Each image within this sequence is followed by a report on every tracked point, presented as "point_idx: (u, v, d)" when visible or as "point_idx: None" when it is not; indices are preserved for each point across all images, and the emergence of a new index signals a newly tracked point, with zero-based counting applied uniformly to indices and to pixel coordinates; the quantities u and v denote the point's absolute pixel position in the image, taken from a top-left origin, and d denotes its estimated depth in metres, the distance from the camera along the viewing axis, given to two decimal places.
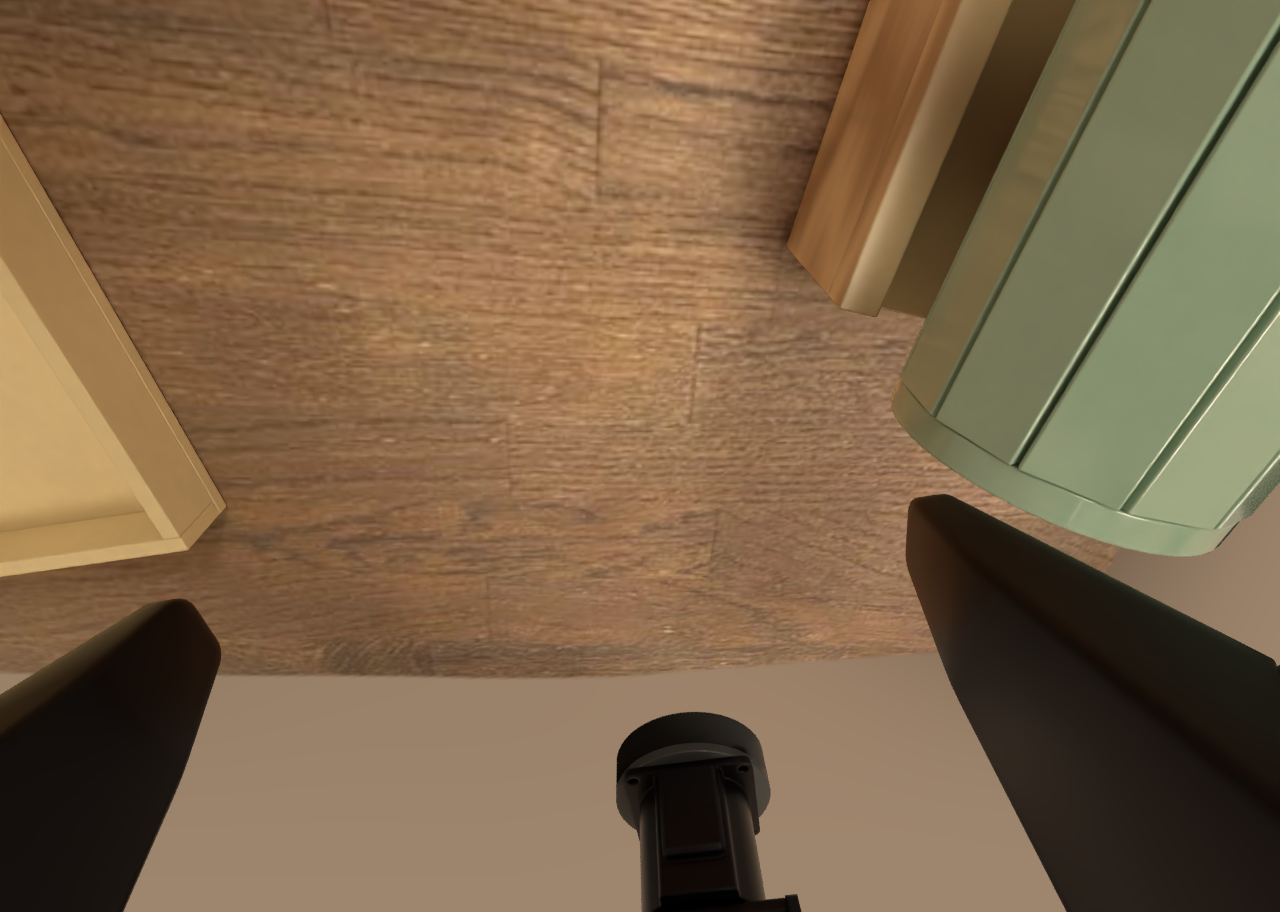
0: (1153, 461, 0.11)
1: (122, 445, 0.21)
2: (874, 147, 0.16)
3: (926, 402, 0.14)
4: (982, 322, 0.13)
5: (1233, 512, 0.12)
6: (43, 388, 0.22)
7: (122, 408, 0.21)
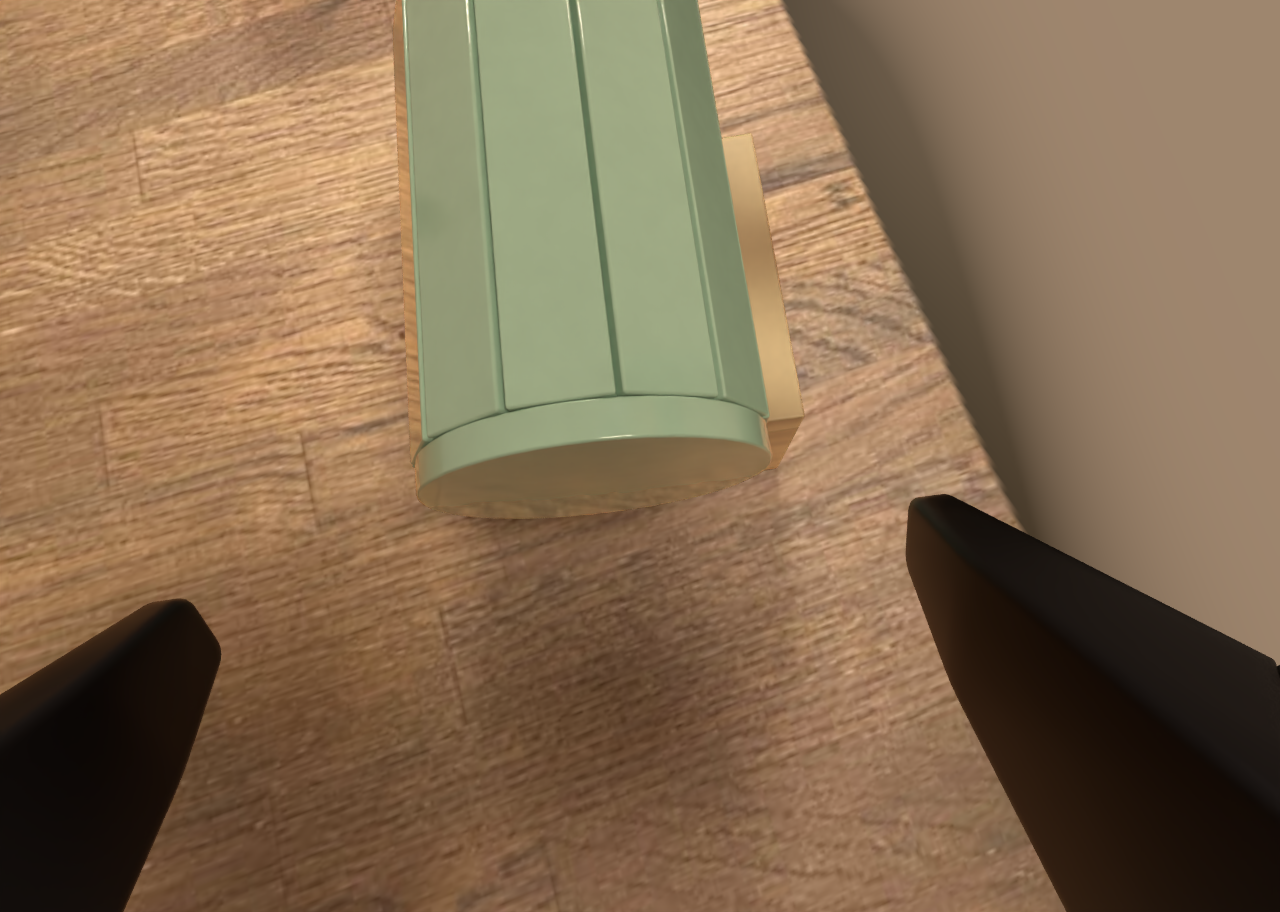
0: (493, 350, 0.11)
1: None
2: None
3: None
4: (412, 369, 0.14)
5: (624, 367, 0.10)
6: None
7: None
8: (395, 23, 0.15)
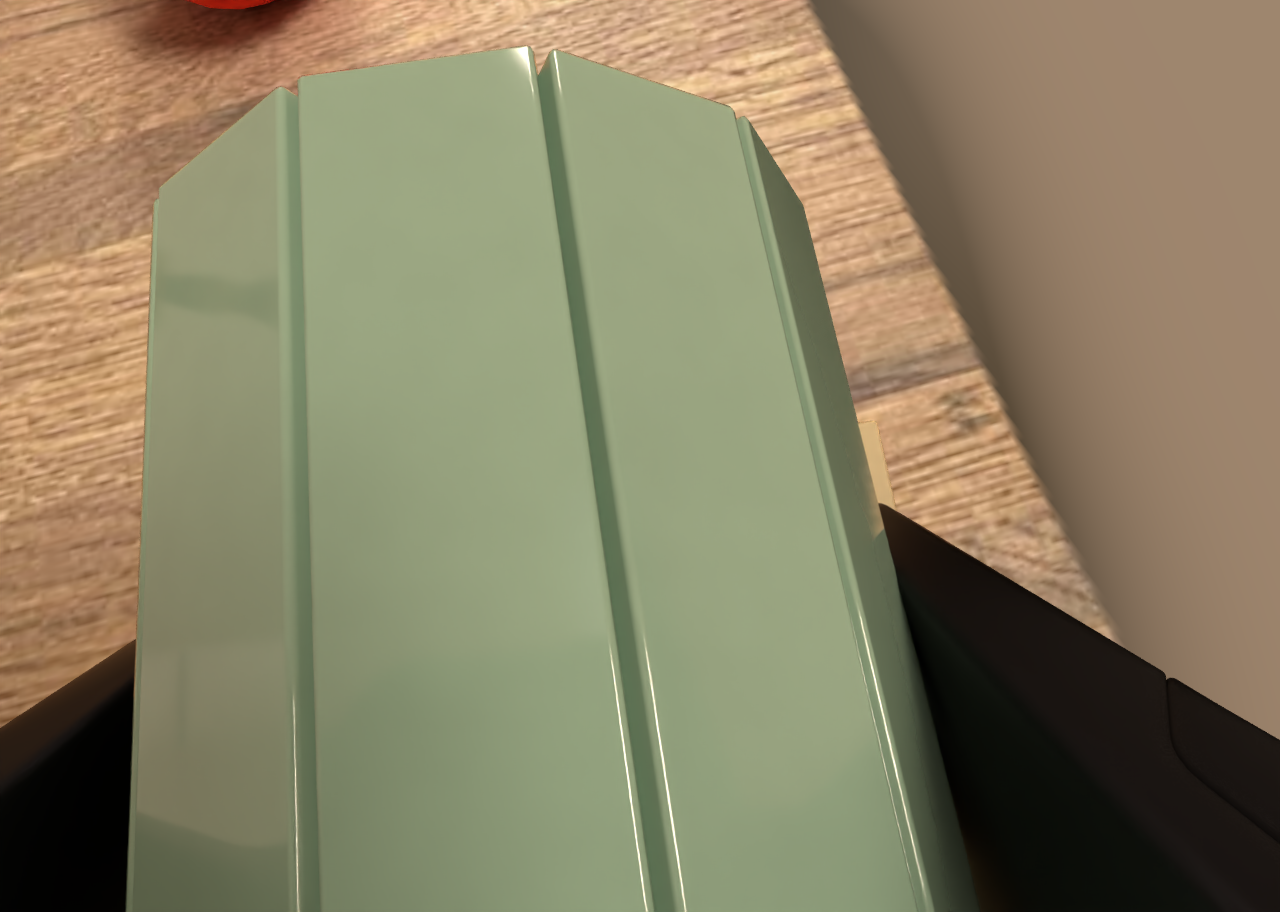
0: None
1: None
2: None
3: None
4: None
5: None
6: None
7: None
8: None
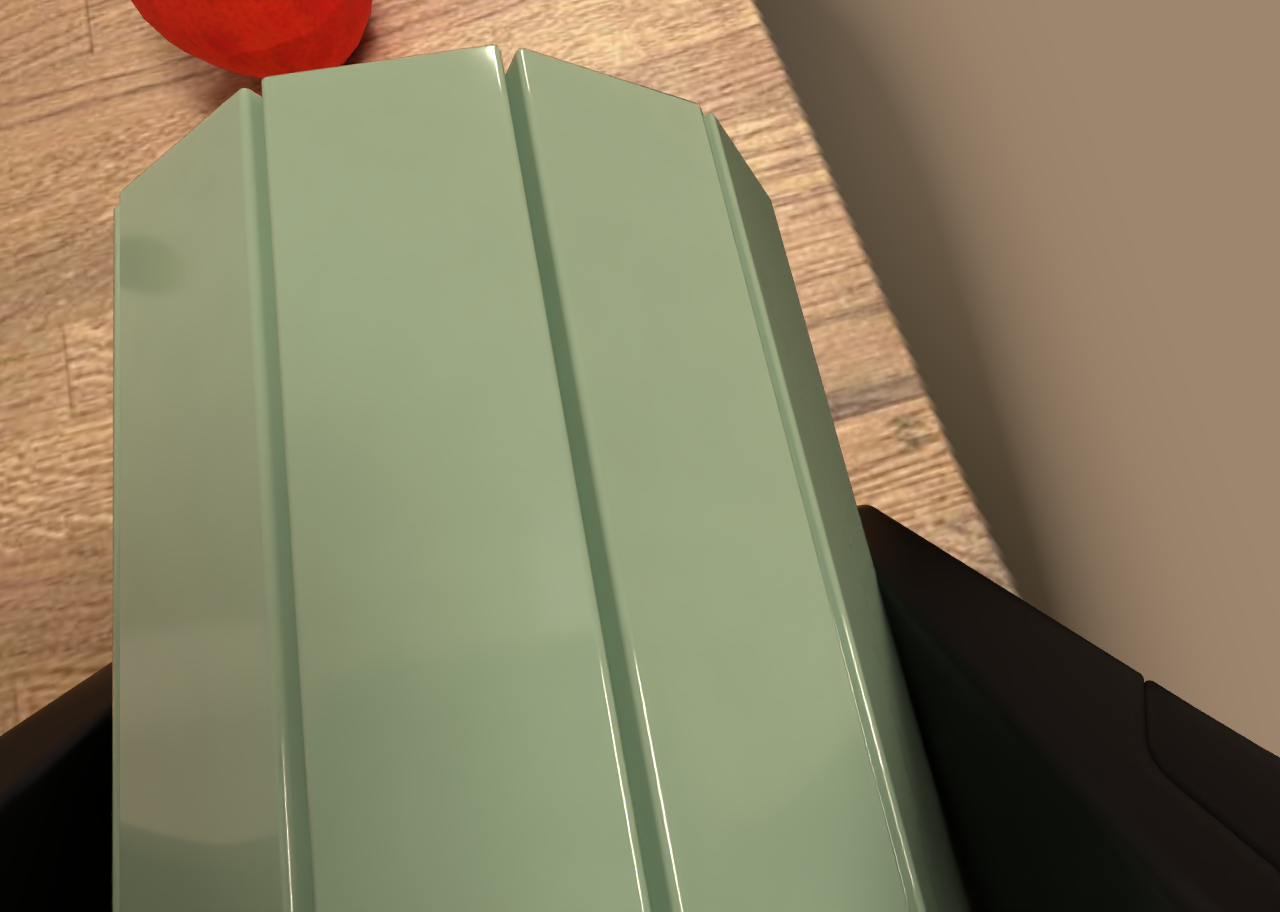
0: None
1: None
2: None
3: None
4: None
5: None
6: None
7: None
8: None
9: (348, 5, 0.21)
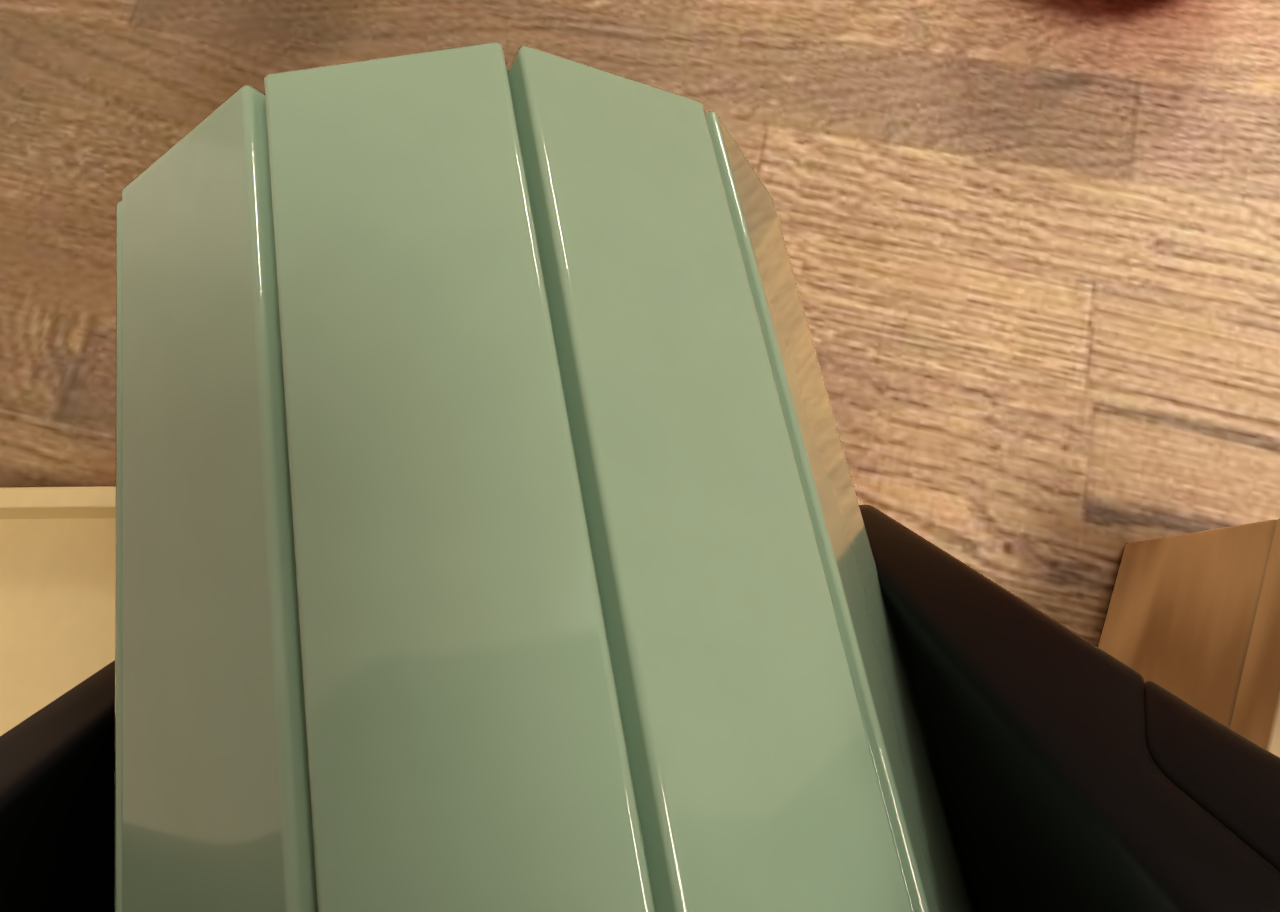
0: None
1: None
2: None
3: None
4: None
5: None
6: None
7: None
8: None
9: None
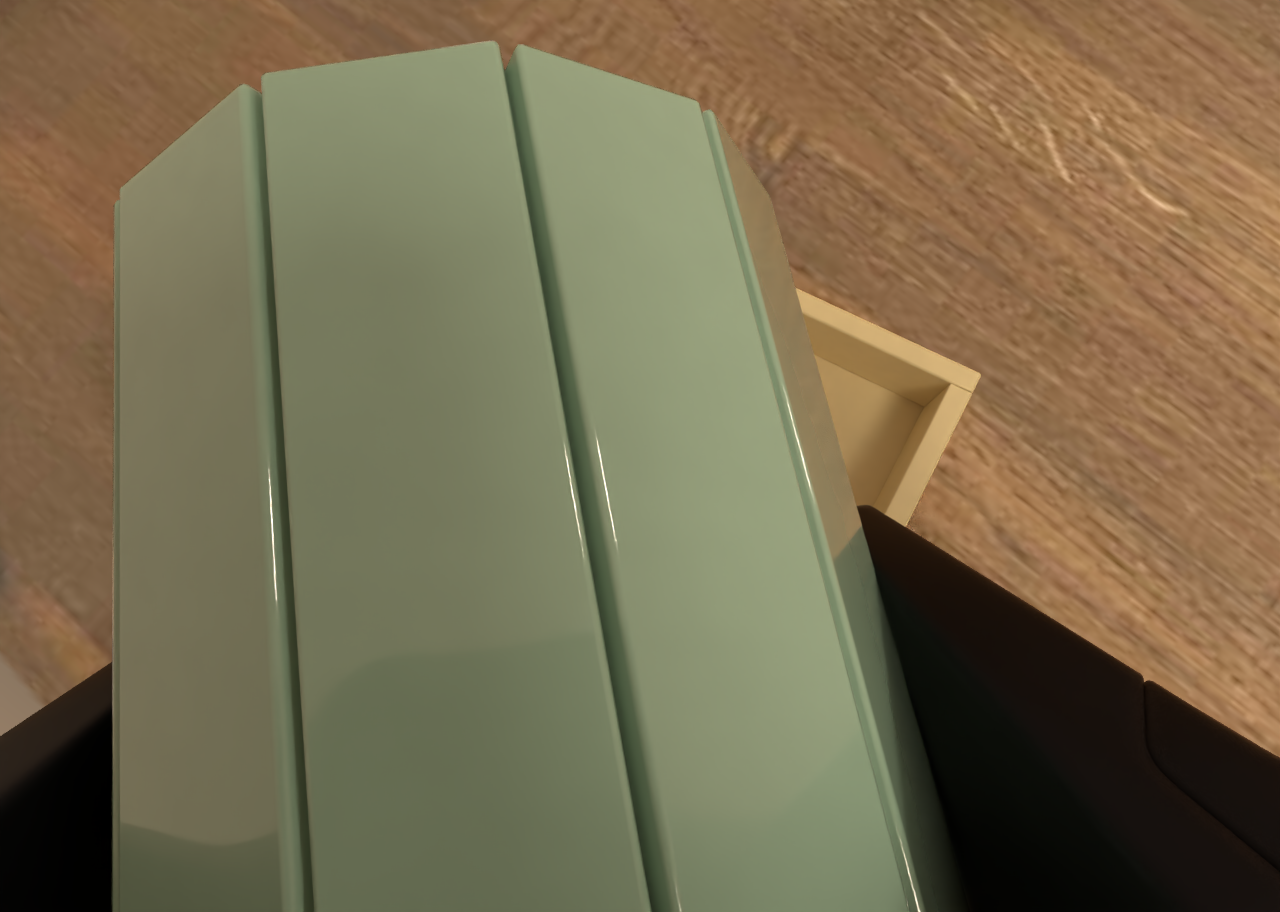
0: None
1: None
2: None
3: None
4: None
5: None
6: None
7: None
8: None
9: None
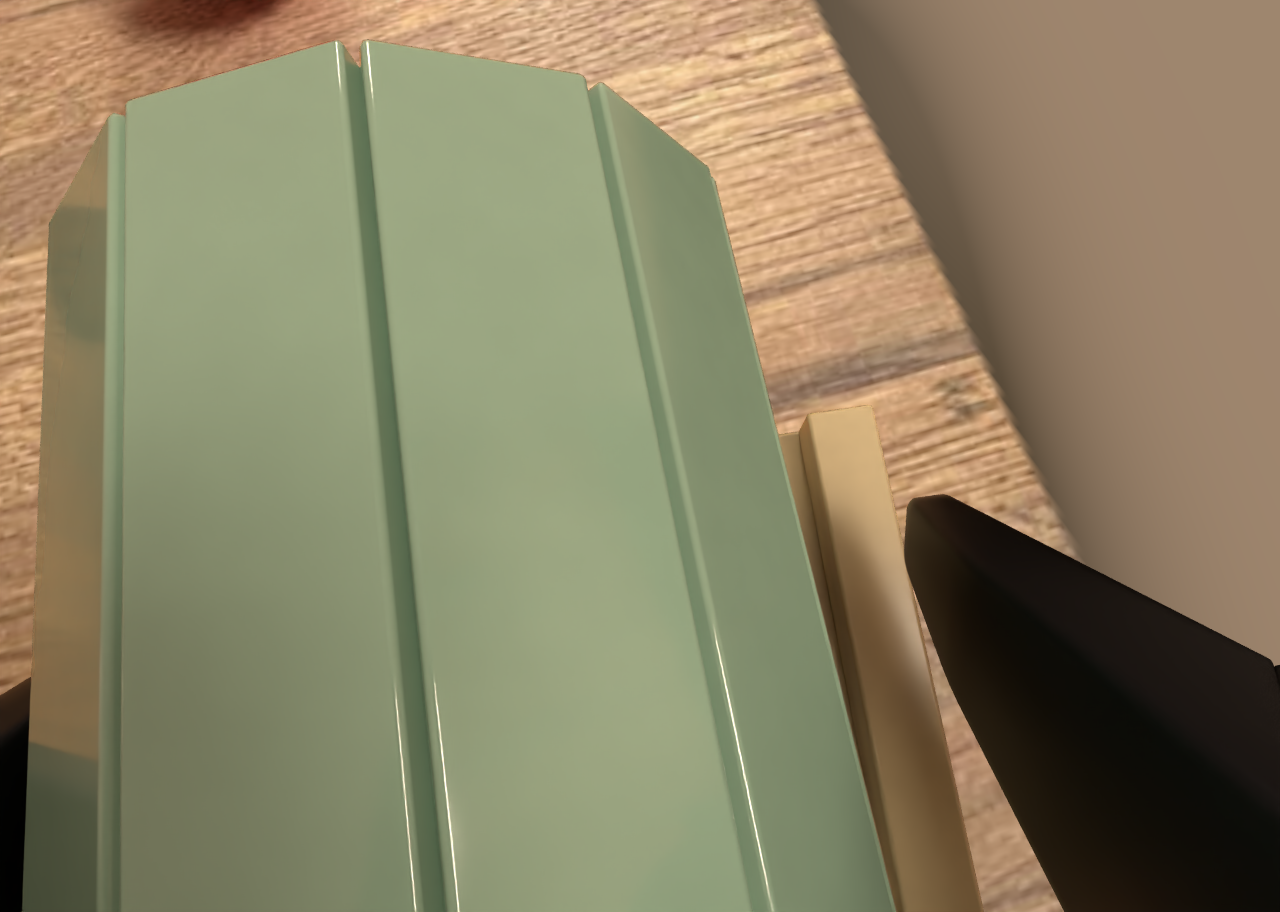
0: None
1: None
2: None
3: None
4: None
5: None
6: None
7: None
8: None
9: None
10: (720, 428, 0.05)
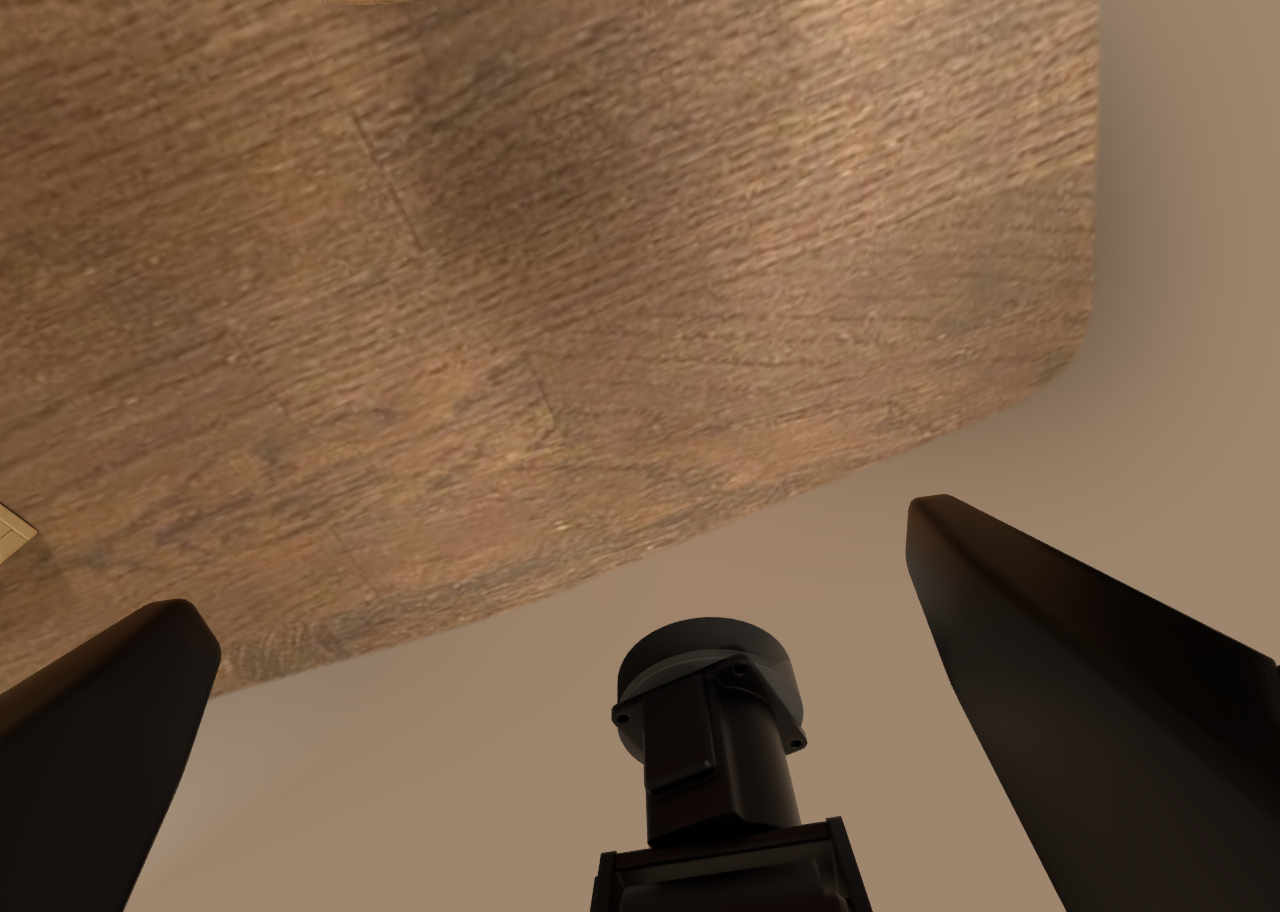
0: None
1: None
2: None
3: None
4: None
5: None
6: None
7: None
8: None
9: None
10: None
